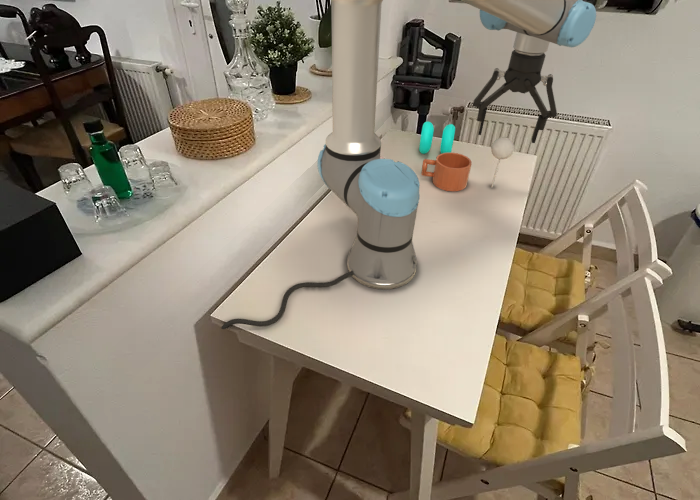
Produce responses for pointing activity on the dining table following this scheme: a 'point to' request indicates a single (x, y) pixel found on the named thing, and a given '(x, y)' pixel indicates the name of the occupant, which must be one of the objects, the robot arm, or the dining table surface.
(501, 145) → the lollipop
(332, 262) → the dining table surface
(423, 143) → the donuts
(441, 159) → the mug
